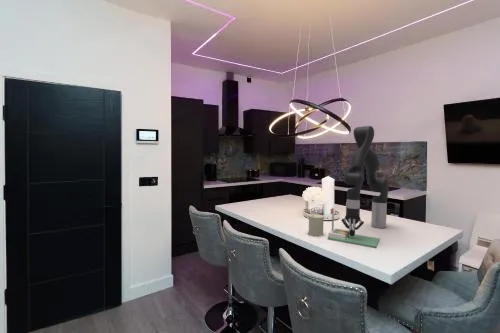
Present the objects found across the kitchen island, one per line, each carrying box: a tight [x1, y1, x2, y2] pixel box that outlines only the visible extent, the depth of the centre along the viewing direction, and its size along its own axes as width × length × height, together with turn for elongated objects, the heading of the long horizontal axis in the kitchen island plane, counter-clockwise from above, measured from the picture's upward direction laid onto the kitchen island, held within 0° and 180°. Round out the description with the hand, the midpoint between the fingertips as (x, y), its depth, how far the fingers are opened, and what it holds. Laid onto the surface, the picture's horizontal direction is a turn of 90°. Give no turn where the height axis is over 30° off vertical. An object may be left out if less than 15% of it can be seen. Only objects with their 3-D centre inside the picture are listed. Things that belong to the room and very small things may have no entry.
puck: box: [339, 229, 349, 238], centre depth 160 cm, size 6×6×3 cm
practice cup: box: [327, 207, 350, 240], centre depth 160 cm, size 13×10×16 cm
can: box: [307, 213, 325, 237], centre depth 166 cm, size 9×9×12 cm
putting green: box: [327, 233, 380, 249], centre depth 157 cm, size 16×26×1 cm, turn 58°
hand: (352, 235), depth 157 cm, fingers closed
